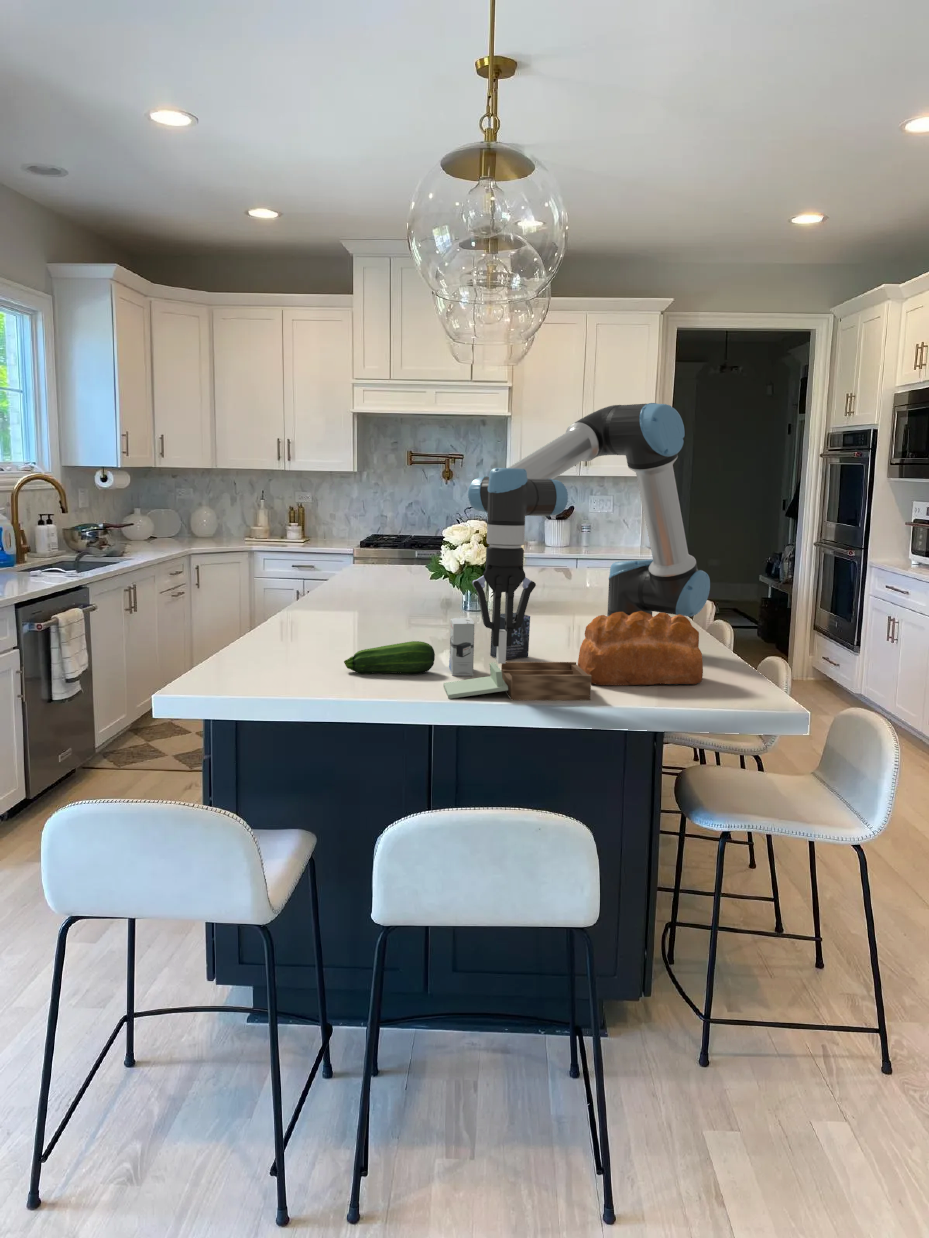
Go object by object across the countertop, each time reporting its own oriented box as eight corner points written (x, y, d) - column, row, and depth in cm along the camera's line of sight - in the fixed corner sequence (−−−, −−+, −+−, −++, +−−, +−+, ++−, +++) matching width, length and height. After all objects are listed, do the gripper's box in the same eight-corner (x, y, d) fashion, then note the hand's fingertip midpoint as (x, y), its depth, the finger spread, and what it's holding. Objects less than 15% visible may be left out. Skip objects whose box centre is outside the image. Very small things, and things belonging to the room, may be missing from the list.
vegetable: (435, 637, 197) (343, 637, 195) (436, 668, 195) (343, 669, 193) (433, 646, 204) (344, 646, 202) (433, 677, 202) (344, 677, 200)
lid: (500, 678, 189) (498, 660, 188) (508, 690, 178) (506, 671, 178) (443, 686, 188) (441, 668, 187) (448, 698, 177) (446, 680, 177)
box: (503, 660, 216) (504, 617, 214) (489, 656, 221) (491, 613, 219) (529, 657, 220) (531, 615, 219) (515, 653, 225) (517, 611, 223)
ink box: (448, 667, 206) (450, 617, 204) (470, 668, 206) (471, 617, 204) (451, 676, 198) (452, 623, 196) (473, 676, 198) (475, 623, 196)
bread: (707, 687, 195) (712, 616, 192) (589, 687, 191) (593, 616, 189) (683, 673, 208) (687, 607, 206) (572, 673, 205) (575, 606, 202)
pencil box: (574, 684, 193) (575, 661, 192) (590, 699, 180) (591, 675, 179) (500, 684, 191) (501, 661, 190) (511, 700, 178) (512, 675, 177)
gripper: (533, 545, 184) (528, 658, 188) (470, 544, 182) (466, 658, 186) (541, 548, 176) (536, 666, 180) (475, 547, 175) (471, 665, 178)
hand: (500, 661), depth 183 cm, fingers closed
